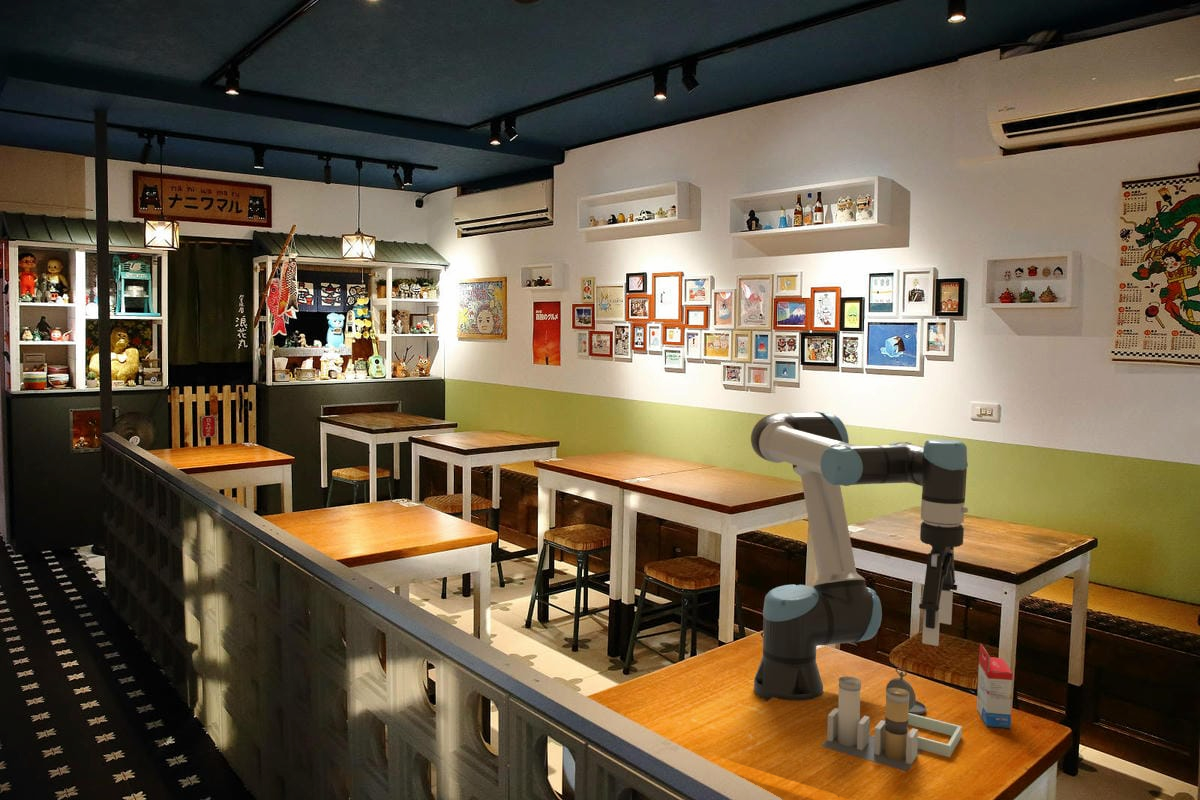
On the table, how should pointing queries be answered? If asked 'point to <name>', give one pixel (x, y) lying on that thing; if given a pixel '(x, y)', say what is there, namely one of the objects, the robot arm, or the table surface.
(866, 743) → the fuse board
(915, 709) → the pocket watch
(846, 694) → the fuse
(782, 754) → the table surface
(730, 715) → the table surface
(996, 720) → the ink box
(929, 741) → the parts tray
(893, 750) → the cylinder
